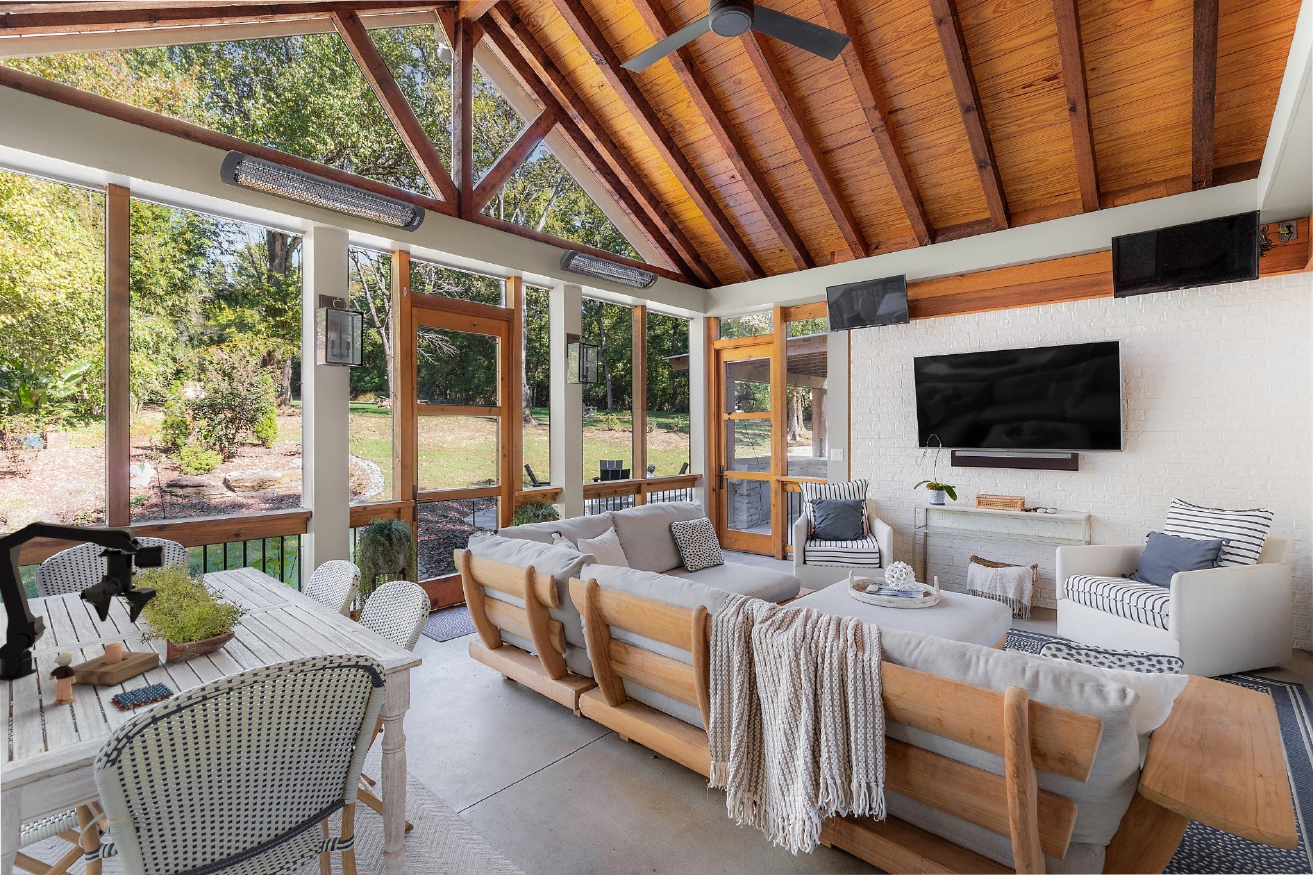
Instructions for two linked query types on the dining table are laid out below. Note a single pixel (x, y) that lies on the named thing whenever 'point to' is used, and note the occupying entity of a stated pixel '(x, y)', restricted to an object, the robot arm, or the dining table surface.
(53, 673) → the grandmother figurine
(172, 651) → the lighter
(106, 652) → the peg
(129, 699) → the woven mat
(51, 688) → the dining table surface
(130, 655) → the bore block
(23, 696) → the dining table surface
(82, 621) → the dining table surface
